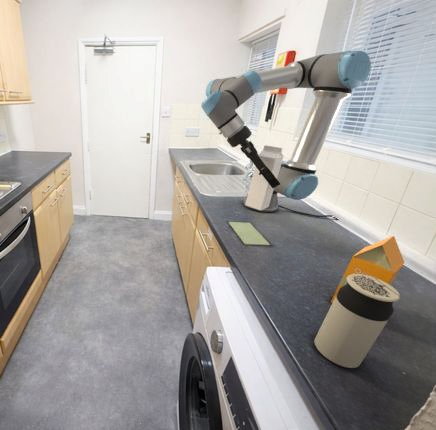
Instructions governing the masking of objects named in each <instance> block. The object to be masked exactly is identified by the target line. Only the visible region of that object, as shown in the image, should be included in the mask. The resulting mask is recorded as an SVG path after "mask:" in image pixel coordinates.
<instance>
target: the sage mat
mask: <svg viewBox="0 0 436 430" xmlns="http://www.w3.org/2000/svg"><path fill="white" fill-rule="evenodd" d="M228 224H229V225H230V226H231V228H232V229H233V231H234V232H235V233H236V234H237V236H238V237H239V238H240V240H241V241H242V243H243V244H244V245H247V246H266V247H267V246H268V247H269V246H271V244H270V243H269V242H268V241H267V239H266V238H265V237H264V236H263V235H262V234H261V233H260V231H258V229H257V228H256V227H254V226H253V224H252V223H251V222H244V221H243V222H242V221H228Z"/></svg>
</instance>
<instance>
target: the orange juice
mask: <svg viewBox="0 0 436 430" xmlns="http://www.w3.org/2000/svg"><path fill="white" fill-rule="evenodd" d="M404 264H405V260H404V257H403V255H402V253H401V250H400V248H399V245H398V242H397V239H396V237H395V235H392V236H390V237H389V236H388V237H387V238H385V239H382V240H380V241H377V242H374V243H372V244H370V245H367V246H365V247H363V248H362V249H360V250H359V251H358V252H356V253H355V254H354V255H353V256H352V257H351V259H350V261H349V264H348V265H347V267H346V270H345V271H344V274H343V275H342V277H341V279H340V281H339V283H338V285H337V288H336V290H335V292H334V295H333V297H332V299H331V301H330V303H331V304H332V303H333V301H334V299H335V297H336V295H337V293H338V291H339V289H340V288H341V287H342V286H344V285H346V284H347V277H348V276H349V275H351V274H362V275H367V276H371V277H374V278H377V279H379V280H381V281H383V282H385V283H387V284H389V285H390V286H392V284H393V283H394V281H395V279H396V277H397V276H398V274H399V272H400V270H401V269H402V267H403V266H404Z"/></svg>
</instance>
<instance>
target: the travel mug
mask: <svg viewBox="0 0 436 430" xmlns="http://www.w3.org/2000/svg"><path fill="white" fill-rule="evenodd" d="M400 299H401V295H400V292H399V291H398V290H397V289H396V288H394V287H393V286H392V285H391V286H390V285H389V284H387V283H385V282H383V281H381V280H379V279H377V278H374V277H371V276H367V275H362V274H351V275H349V276H348V277H347V284H346V285H344V286H342V287H341V288H340V289H339V291H338V293H337V295H336V297H335V299H334V301H333V303H331V305H330V307H329V310H328V311H327V313H326V315H325V317H324V320H323V321H322V323H321V325H320V328H319V330H318V331H317V334H316V335H315V338H314V341H313V343H314V345H315V347H316V349H317V350H318V352H319V353H320V354H321V355H323V357H324V358H326V359H327V360H329V361H331V362H332V363H334V364H336V365H338V366H340V367H343V368H347V369H356V368H358V367H360V365H362V363H363V361H364V360H365V358H366V356H367V355H368V353H369V352H370V350H371V349H372V347H373V346H374V343H375V342H376V341H377V339H378V338H379V336H380V334H381V333H382V331H383V330H384V328H385V326H386V325H387V324H388V322H389V320H390V319H391V317H392V316H393V314H394V312H395V311H394V305H393V304H394V302H398V301H399V300H400Z"/></svg>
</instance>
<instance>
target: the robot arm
mask: <svg viewBox="0 0 436 430" xmlns="http://www.w3.org/2000/svg"><path fill="white" fill-rule="evenodd" d="M371 68H372V62H371V58H370V56H369V54H368V53H367V52H366V51H363V50H346V51H340V52H333V53H324V54H318V55H314V56H311V57H308V58H303V59H301V60H297V61H291V62H290V63H288V64H287V65H285V66H281V67H276V68H271V69H266V70H259V71H256V70H251V69H250V70H247V71H246V72H244V73H242V74H241V75H234V76H229V77H225V78H216V79H212V80H210V81H209V82H208V83H207V84H206V87H205V96H206V98H205V99H204V100H203V101H202V102H201V103H200V107H201V109H202V111H203V112H204V114H205V116H207V117H208V119H209V120H210V122H211V123H212V124H213V125H214V126H215V127H216V128H217V130H218V131H219V132H218V134H219V135H221V136H223V138H225V139H226V141H227V143H228V144H229V146H230V147H231V148H237V147H238V146H241V147H240V151H241V152H242V153H243V154H244V155H245V157H246V158H248V159H249V160H250V161H251V162H252V163H253V164H254V167H255V166H256V167H257V169H258V170H259V171H260V173H259V175H261V174H262V175H263V177H264V178H265V179H266V181H267V182H268V183H269V185H270V186H271V187H272V188H274V190H273V193H272V197H271V200H270V203H269V207H267V208H265V209H263V210H261V211H260V210H257V209H255V208H252V207H249V206H246V205H245V204H246V200H247V196H248V193H246V196H245V197H244V199H243V201H242V205H243V206H244V207H245V208H248V209H249V210H252V211H255V212H260V213H274V212H277V211H278V209H279V208H281V209H284V210H286V211H289V212H293V213H295V214H301V215H305V216H308V217H309V216H310V217H316V218H332V219H335V220H336V221H339V218H338V217H337V218H338V219H337V218H335V217H336V216H335V217H332V216H333V215H331V214H326V215H325V214H323V215H319V214H312V213H307V212H304V211H297V210H293V209H291V208H289V207H286V206H283V205H279V199H278V198H279V197H278V194H280V195H282V196H284V197H285V198H287V199H292V200H296V201H299V200H300V201H301V200H303V199H306V198H308V197H309V196H311V195H312V194H313V193H314V192H315V191H316V189H317V187H318V186H319V178H318V176H317V175H316V172H317V170H318V169H317V167H316V165H315V164H316V161H317V159H318V157H319V155H320V153H321V151H322V148H323V146H324V143H325V141H326V139H327V137H328V135H329V132H330V130H331V127H332V125H333V123H334V121H335V118H336V116H337V115H338V113H339V109H340V107H341V106H342V104H343V101H344V100H345V99H346V98H349V97H350V96H351V95H352V93H353V90H355V89H357V88H360V87H361V86H362V85H363V84H365V82H366V81H367V80H368V78H369V76H370V73H371ZM284 88H285V89H288V90H293V89H313V90H312V94H313V95H314V99H313V102H312V105H311V107H310V110H309V112H308V114H307V117H306V119H305V121H304V124H303V126H302V129H301V132H300V133H299V137H298V138H297V140H296V141H297V142H296V143H295V146H294V149H293V152H292V154H291V157H290V159H289V160H287V161H286V160H284V159H283V160H282V164H281V167H280V170H279V174H278V177H277V179H276V177H275V176H274V175H273V173H272V172H271V171H270V169H269V168H268V167H267V166H266V165H265V164H264V162H263V161H262V160H261V158H260V157H259V156H258V155H259V151H258V150H257V149H256V147H255V145H254V143H253V142H252V141H251V140H248V139H249V138H250V137H251V136H252V134H253V133H252V131H251V129H250V128H249V127H248V126H247V125H245V122H244V120H243V119H242V117H241V116H240V115H239V113H237V111H236V110H237V109H238V108H239V107H241V106H242V105H243V104H244V103H246V102H247V101H249V99H250V98H252V97H253V96H255V94H258V93H259V94H260V93H264V92H268V91H269V92H270V91H274V90H279V89H280V90H281V89H284ZM261 169H262V170H261Z"/></svg>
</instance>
